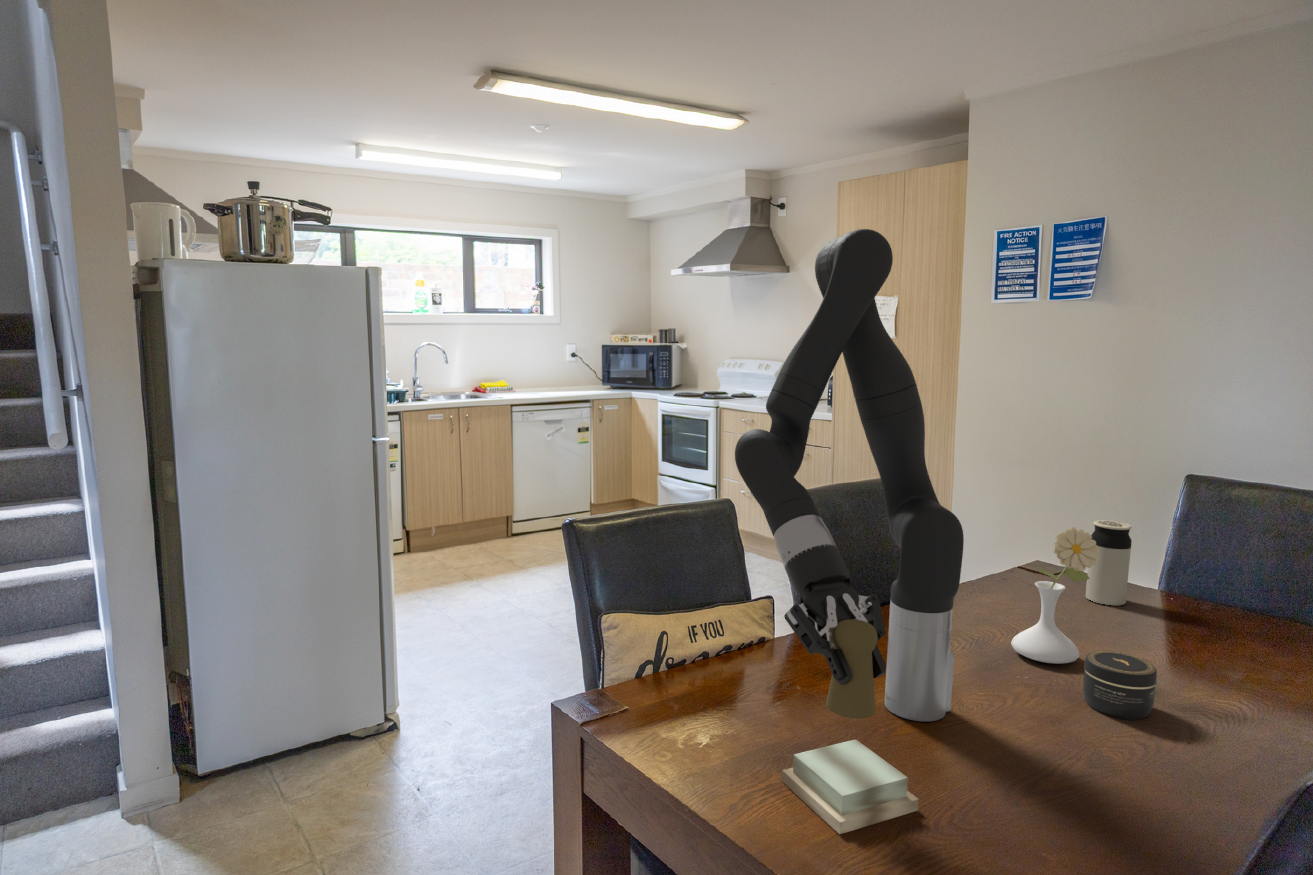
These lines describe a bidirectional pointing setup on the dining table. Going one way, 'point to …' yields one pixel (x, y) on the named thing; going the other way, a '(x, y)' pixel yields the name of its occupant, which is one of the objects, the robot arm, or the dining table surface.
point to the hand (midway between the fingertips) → (863, 678)
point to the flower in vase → (1045, 636)
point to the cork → (854, 671)
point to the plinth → (849, 786)
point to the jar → (1119, 684)
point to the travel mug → (1110, 563)
